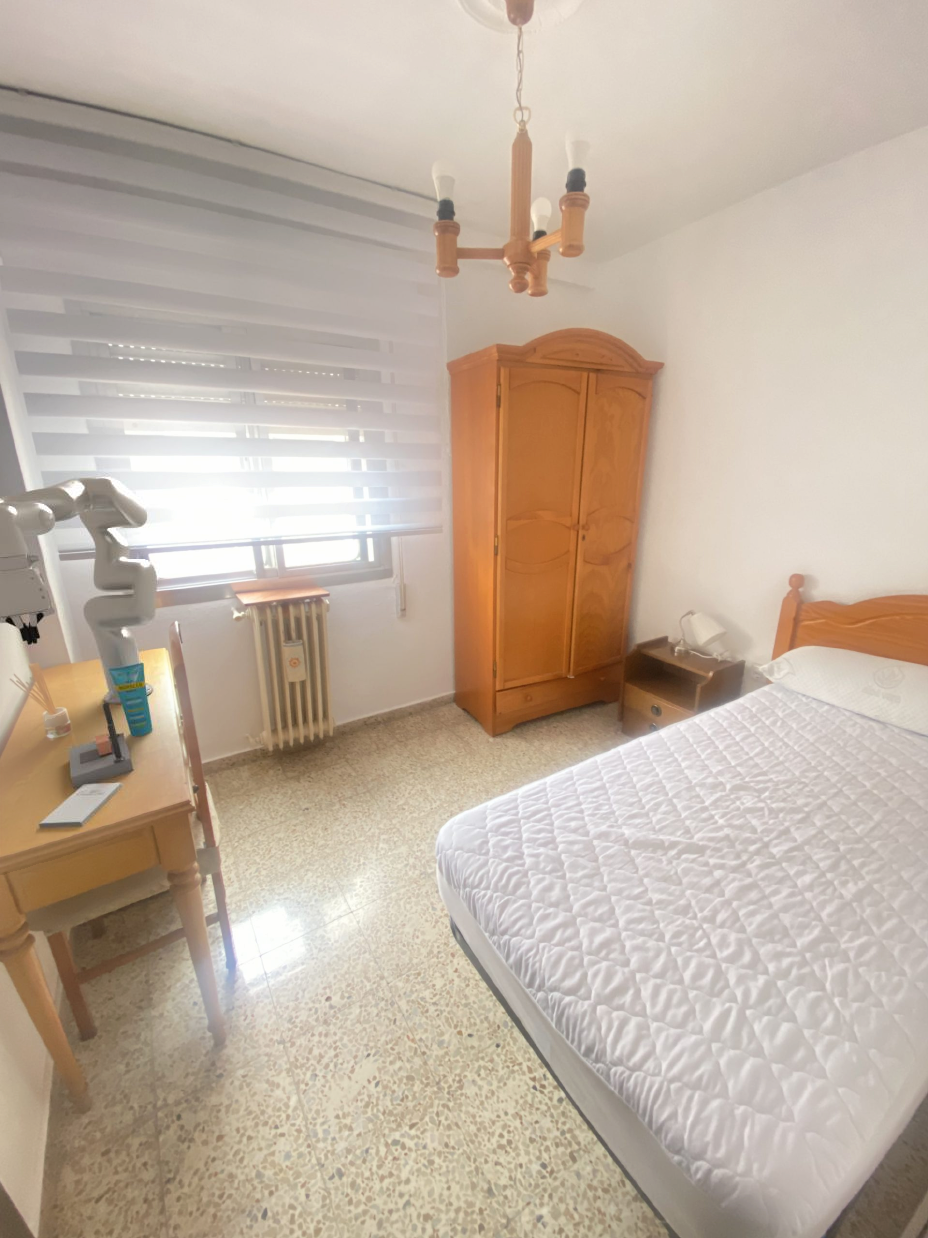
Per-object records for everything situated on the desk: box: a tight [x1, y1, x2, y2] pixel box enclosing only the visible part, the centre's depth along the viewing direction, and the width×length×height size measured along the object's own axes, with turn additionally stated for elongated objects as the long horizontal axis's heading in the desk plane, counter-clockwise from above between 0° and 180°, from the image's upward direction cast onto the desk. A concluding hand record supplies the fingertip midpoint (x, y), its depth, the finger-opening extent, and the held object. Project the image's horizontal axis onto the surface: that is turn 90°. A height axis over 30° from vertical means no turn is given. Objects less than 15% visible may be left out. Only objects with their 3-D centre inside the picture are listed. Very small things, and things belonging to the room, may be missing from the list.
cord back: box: [102, 702, 117, 733], centre depth 121 cm, size 1×1×8 cm
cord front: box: [107, 724, 122, 758], centre depth 111 cm, size 1×1×8 cm
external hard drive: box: [38, 782, 122, 829], centre depth 102 cm, size 2×8×12 cm
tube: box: [108, 662, 153, 737], centre depth 127 cm, size 7×5×19 cm, turn 123°
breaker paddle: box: [94, 733, 112, 756], centre depth 116 cm, size 4×2×3 cm, turn 39°
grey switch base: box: [68, 732, 134, 790], centre depth 116 cm, size 16×11×3 cm
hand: (32, 642), depth 113 cm, fingers closed
